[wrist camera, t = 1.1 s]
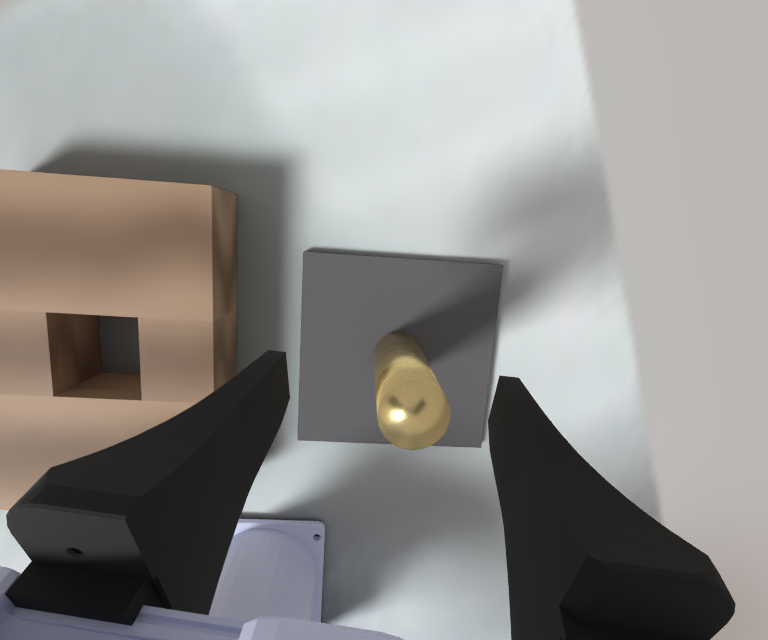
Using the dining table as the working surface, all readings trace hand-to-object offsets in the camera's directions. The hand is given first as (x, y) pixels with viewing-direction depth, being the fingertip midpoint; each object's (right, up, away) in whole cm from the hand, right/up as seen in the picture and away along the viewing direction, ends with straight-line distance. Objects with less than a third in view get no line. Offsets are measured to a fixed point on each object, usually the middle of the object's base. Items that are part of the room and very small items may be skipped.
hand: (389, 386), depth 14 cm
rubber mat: (+1, 0, +12) cm, 12 cm away
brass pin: (+1, 0, +12) cm, 12 cm away
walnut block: (-15, +1, +11) cm, 19 cm away
